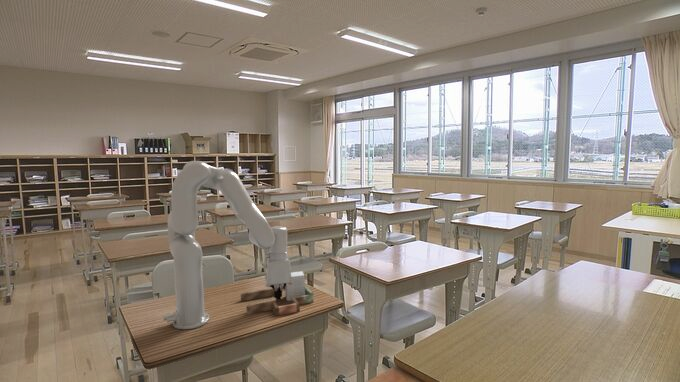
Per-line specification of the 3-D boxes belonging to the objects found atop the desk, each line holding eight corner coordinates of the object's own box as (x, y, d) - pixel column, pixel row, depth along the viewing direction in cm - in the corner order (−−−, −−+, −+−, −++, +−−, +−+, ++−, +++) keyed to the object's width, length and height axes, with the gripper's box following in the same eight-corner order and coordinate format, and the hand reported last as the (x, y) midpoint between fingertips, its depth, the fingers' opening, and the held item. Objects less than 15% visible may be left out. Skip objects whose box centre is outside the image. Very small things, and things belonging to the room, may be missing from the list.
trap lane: (250, 320, 138) (249, 310, 137) (238, 295, 163) (238, 286, 163) (318, 307, 149) (318, 297, 148) (297, 285, 174) (297, 276, 174)
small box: (303, 294, 163) (302, 270, 162) (305, 299, 158) (304, 275, 156) (285, 296, 161) (284, 272, 160) (286, 301, 156) (285, 277, 154)
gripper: (262, 260, 148) (262, 304, 149) (298, 256, 154) (297, 299, 155) (258, 255, 155) (258, 298, 156) (292, 252, 161) (292, 293, 162)
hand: (278, 298), depth 156 cm, fingers closed
